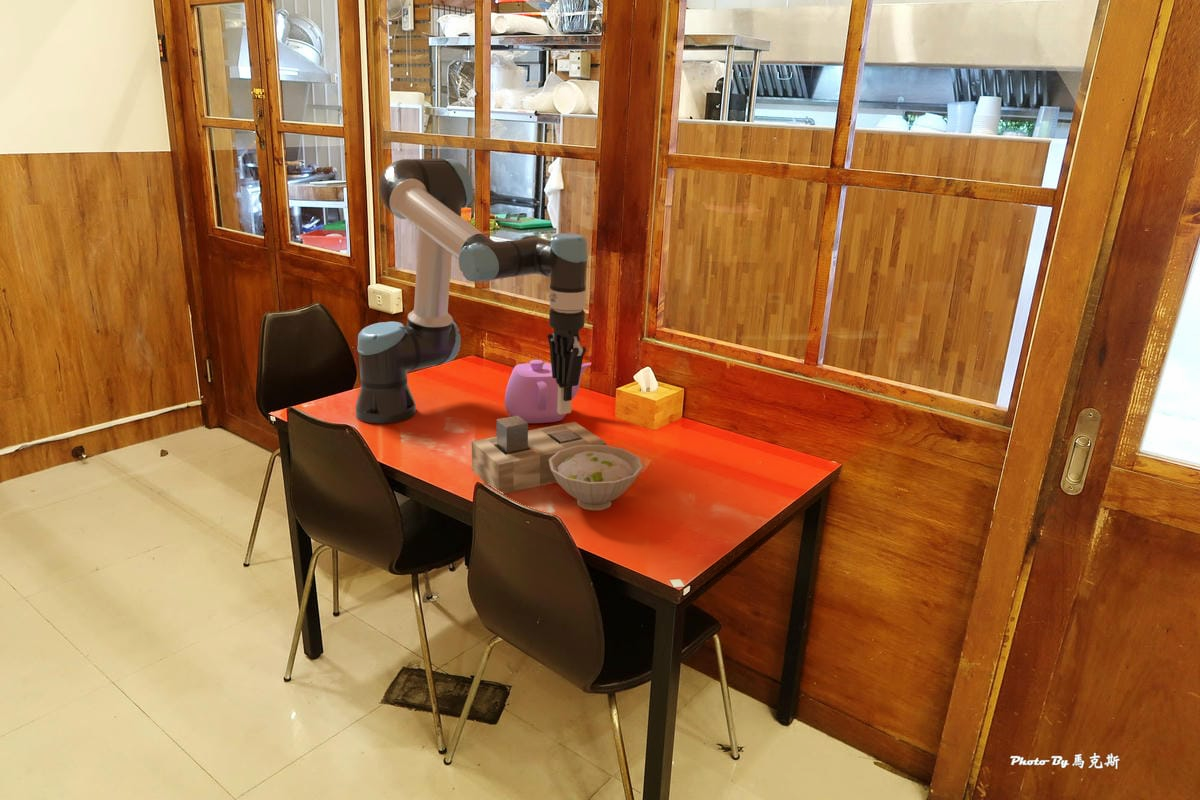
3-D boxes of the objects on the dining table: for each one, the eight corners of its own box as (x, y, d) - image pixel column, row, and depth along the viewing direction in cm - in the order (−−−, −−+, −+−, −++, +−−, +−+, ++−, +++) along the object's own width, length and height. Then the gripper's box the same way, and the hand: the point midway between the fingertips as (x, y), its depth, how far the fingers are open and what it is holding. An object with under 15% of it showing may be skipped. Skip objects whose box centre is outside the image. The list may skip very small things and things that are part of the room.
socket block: (472, 470, 177) (471, 441, 174) (574, 449, 190) (574, 421, 187) (498, 495, 165) (498, 464, 163) (605, 471, 178) (606, 442, 176)
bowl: (567, 532, 152) (568, 484, 148) (534, 489, 168) (534, 446, 165) (657, 515, 159) (660, 470, 156) (617, 476, 176) (619, 434, 172)
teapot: (511, 435, 197) (510, 377, 192) (501, 406, 216) (500, 352, 211) (600, 430, 202) (602, 373, 197) (583, 402, 221) (584, 349, 216)
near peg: (496, 447, 173) (496, 419, 171) (517, 443, 175) (517, 415, 173) (506, 455, 169) (506, 426, 167) (527, 451, 171) (527, 423, 169)
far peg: (549, 460, 181) (549, 433, 179) (568, 456, 184) (569, 430, 182) (560, 468, 177) (560, 441, 175) (579, 464, 180) (580, 437, 178)
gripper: (537, 303, 172) (535, 405, 180) (566, 317, 162) (563, 425, 170) (567, 300, 176) (564, 400, 184) (598, 314, 165) (593, 419, 174)
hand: (564, 412), depth 177 cm, fingers closed
